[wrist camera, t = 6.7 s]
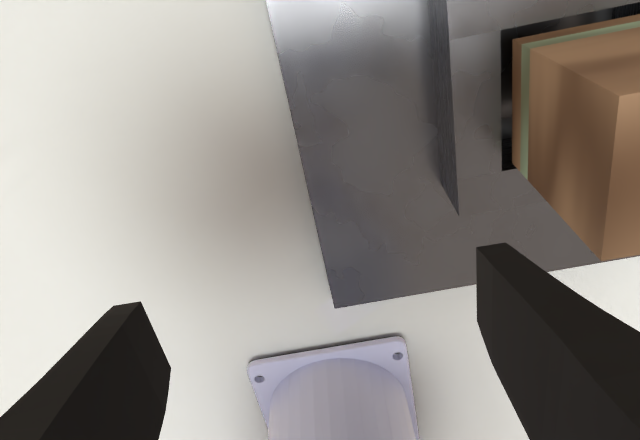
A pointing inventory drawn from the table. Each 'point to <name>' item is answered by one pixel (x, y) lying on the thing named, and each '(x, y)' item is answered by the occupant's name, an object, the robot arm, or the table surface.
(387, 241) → the dark grey stepped base
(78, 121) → the table surface
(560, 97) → the walnut post
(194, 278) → the table surface
